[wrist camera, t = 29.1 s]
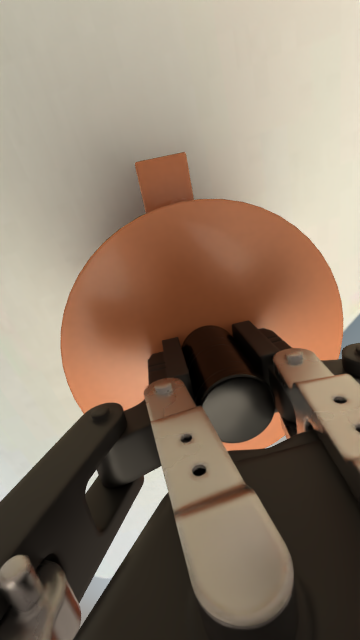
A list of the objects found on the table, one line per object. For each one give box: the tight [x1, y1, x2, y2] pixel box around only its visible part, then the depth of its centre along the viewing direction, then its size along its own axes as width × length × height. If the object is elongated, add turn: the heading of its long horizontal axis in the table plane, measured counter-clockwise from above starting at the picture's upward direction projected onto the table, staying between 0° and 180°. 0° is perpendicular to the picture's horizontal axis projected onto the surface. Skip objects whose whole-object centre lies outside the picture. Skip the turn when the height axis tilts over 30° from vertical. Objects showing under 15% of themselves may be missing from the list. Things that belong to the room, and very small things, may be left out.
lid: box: [61, 199, 343, 451], centre depth 12 cm, size 12×12×6 cm
